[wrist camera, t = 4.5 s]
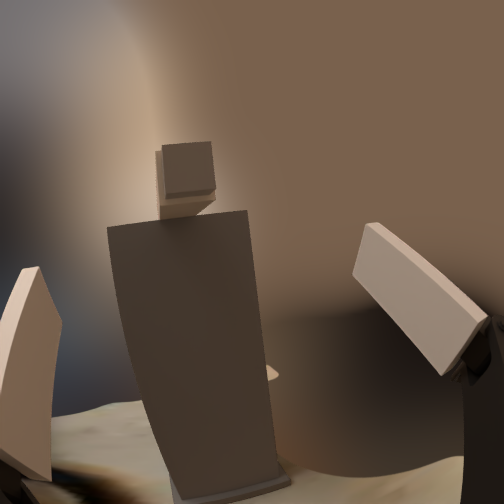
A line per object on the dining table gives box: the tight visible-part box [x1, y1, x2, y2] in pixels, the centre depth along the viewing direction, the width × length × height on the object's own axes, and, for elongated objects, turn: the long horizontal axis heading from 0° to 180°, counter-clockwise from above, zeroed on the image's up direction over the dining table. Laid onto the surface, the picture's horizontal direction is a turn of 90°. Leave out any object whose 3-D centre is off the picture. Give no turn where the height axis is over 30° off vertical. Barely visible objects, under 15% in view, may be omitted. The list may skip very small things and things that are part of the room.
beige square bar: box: [156, 142, 216, 220], centre depth 27 cm, size 3×28×3 cm, turn 18°
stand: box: [107, 210, 291, 504], centre depth 31 cm, size 14×14×32 cm
